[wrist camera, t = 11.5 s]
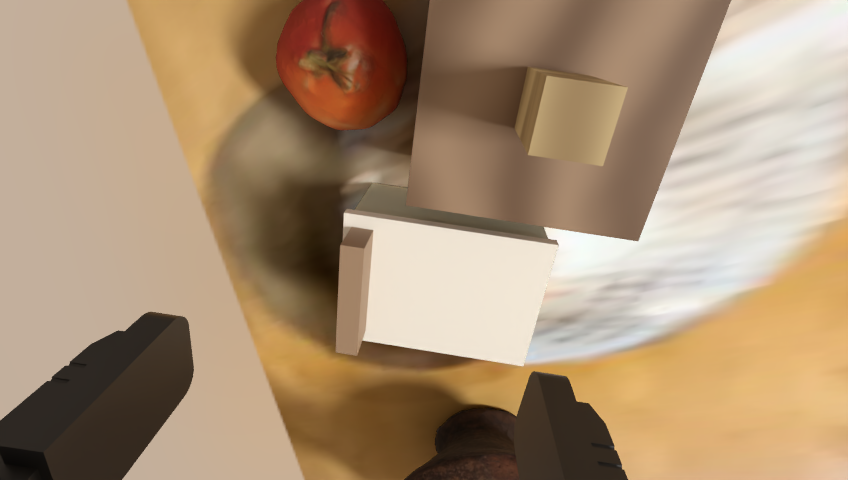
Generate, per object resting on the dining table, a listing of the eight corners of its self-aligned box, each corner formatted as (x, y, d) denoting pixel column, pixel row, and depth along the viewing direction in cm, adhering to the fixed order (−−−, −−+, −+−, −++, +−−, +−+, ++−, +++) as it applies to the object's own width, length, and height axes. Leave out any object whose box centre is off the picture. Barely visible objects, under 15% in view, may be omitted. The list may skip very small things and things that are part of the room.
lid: (556, 240, 30) (567, 265, 27) (522, 359, 35) (527, 394, 32) (346, 208, 31) (331, 229, 28) (341, 330, 36) (327, 361, 32)
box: (535, 206, 37) (549, 241, 31) (510, 305, 42) (517, 353, 35) (372, 182, 38) (353, 211, 31) (365, 283, 42) (346, 326, 36)
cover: (650, -10, 30) (849, -63, 14) (590, 184, 36) (682, 294, 20) (448, -38, 30) (427, -118, 15) (423, 158, 36) (389, 248, 21)
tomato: (367, 143, 36) (342, 169, 29) (279, 64, 34) (228, 71, 27) (442, 55, 33) (434, 60, 26) (348, -39, 31) (311, -62, 24)
